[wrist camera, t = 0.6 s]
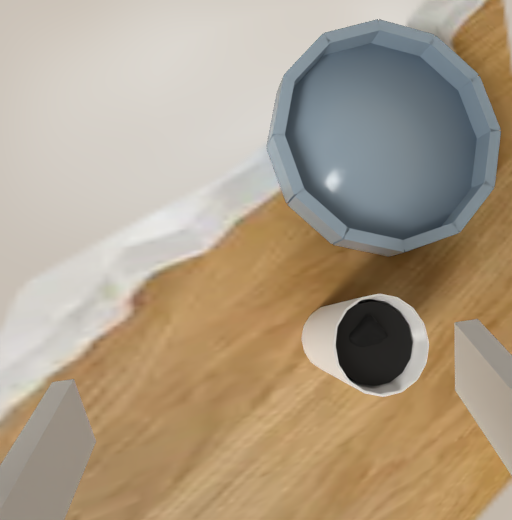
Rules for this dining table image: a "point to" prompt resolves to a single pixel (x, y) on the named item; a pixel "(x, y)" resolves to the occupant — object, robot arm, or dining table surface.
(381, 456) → the dining table surface
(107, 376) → the dining table surface
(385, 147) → the blue round tray
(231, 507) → the dining table surface
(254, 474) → the dining table surface
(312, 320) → the white coffee cup
